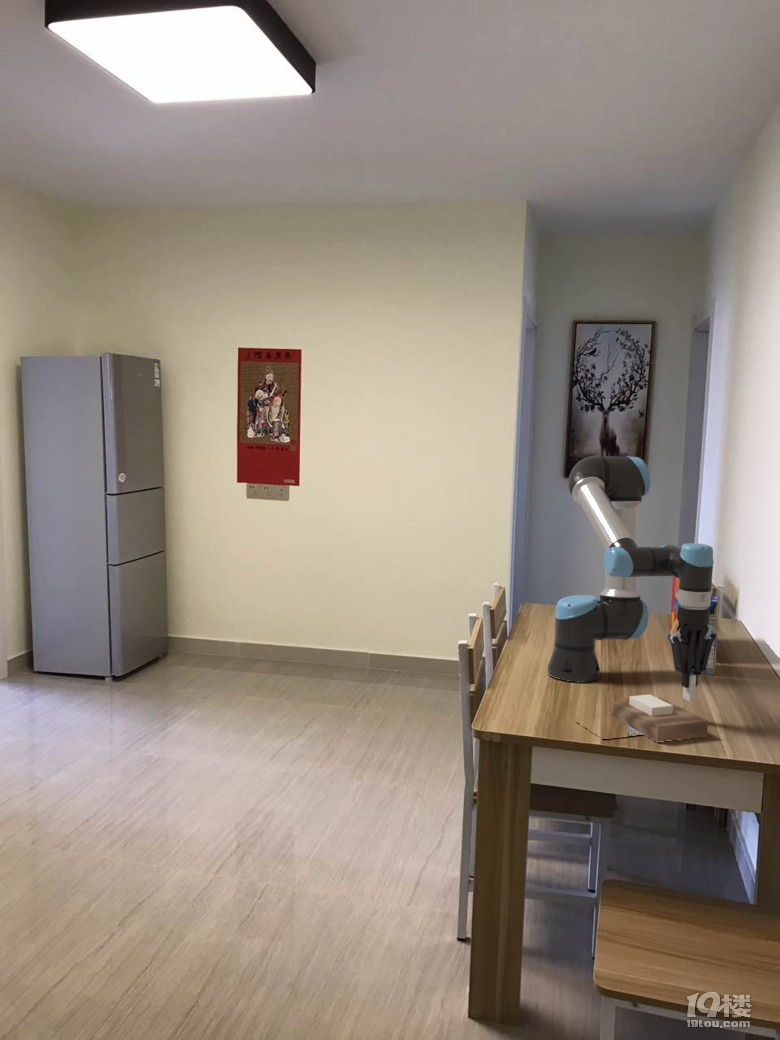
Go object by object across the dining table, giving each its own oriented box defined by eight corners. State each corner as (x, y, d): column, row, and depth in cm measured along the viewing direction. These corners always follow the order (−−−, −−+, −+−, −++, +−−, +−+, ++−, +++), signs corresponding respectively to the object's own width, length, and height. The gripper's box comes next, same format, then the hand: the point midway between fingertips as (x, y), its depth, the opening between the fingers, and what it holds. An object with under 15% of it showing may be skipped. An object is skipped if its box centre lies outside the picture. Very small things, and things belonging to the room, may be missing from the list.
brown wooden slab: (612, 717, 209) (613, 702, 208) (659, 712, 213) (660, 697, 213) (657, 743, 192) (658, 726, 191) (706, 737, 196) (707, 720, 196)
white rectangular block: (629, 704, 207) (629, 696, 207) (649, 702, 209) (649, 694, 208) (651, 716, 198) (652, 707, 198) (672, 713, 200) (673, 705, 200)
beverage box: (688, 672, 250) (692, 600, 248) (691, 663, 260) (695, 594, 258) (713, 675, 247) (717, 603, 245) (715, 666, 257) (719, 596, 255)
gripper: (682, 611, 199) (676, 706, 201) (726, 608, 203) (720, 701, 206) (662, 604, 206) (657, 697, 208) (705, 602, 210) (699, 692, 213)
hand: (688, 699), depth 207 cm, fingers closed
